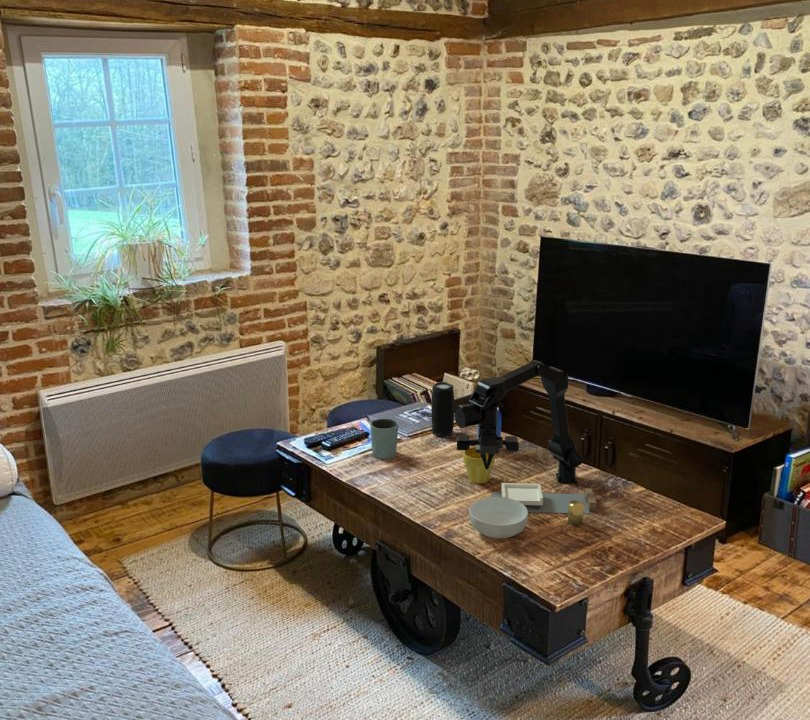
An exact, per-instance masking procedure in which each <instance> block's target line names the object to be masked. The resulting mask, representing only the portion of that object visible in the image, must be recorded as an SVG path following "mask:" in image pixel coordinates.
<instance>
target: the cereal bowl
mask: <svg viewBox="0 0 810 720" xmlns="http://www.w3.org/2000/svg"><path fill="white" fill-rule="evenodd" d="M468 513H469V514H468V515H469V521H470V523H471V525H472V527H473V528H474V529H475V530H476V531H477V532H478V533H479V534H481V535H484V536H486V537H489V538H493V539H507V538H510V537H514V536H516V535H518V534H520V533H521V532H522V531H523V530H524V529H525V528H526V526H527V524H528V523H527V522H528V517H529V512H528V510H527V508H526V507H525V506H524V505H523V504H522V503H520V502H518V501H516V500H513V499H510V498H504V497H492V496H489V497H484V498H480V499H478V500H476V501H473V502H472V504H470V506H469V510H468Z"/></svg>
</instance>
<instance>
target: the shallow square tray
mask: <svg viewBox="0 0 810 720" xmlns="http://www.w3.org/2000/svg"><path fill="white" fill-rule="evenodd" d="M500 490H501V492H502V497H504V498H510V499H513V500H516V501H518V502H520V503H522V504H523V505H535V508H536V509H539V508H540V505H543V496H542V493H543V492H542V487H541V484H540V483H521V482H519V483H517V482H516V483H515V482H511V483H509V482H501V489H500Z"/></svg>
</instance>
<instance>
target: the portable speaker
mask: <svg viewBox="0 0 810 720" xmlns="http://www.w3.org/2000/svg"><path fill="white" fill-rule="evenodd" d="M430 400H431V405H430V406H431V407H430V408H431V410H430V411H431V413H430V415H431V416H430V420H431V431H432V434H434V435H436V436H437V438H448V437H449V435H450V434H454V433H453V432H454V424H455V393H454V384H451V383H448V382H446V381H438V382H436V383H434V384H433V385H432V390H431V399H430Z"/></svg>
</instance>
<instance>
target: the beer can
mask: <svg viewBox="0 0 810 720" xmlns="http://www.w3.org/2000/svg"><path fill="white" fill-rule="evenodd" d="M499 409H500V407H498V415H497V436H498V437H502V436H501V435H502V413H501V411H500V410H499ZM476 426H477V427H476V430H477V431H476V433H477V435H476V436H477V437H476V439H478V425H476Z"/></svg>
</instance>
